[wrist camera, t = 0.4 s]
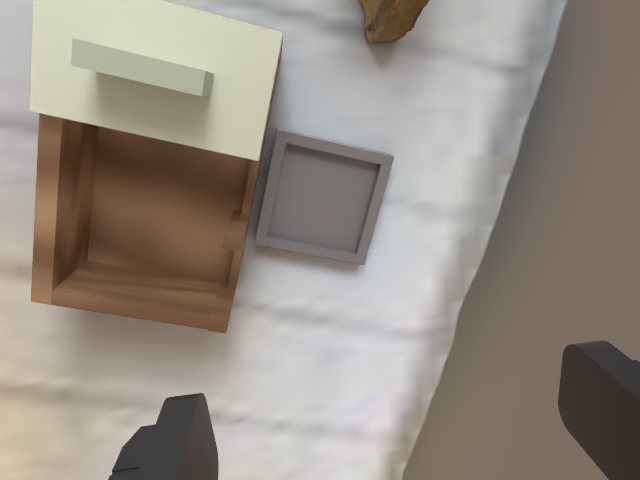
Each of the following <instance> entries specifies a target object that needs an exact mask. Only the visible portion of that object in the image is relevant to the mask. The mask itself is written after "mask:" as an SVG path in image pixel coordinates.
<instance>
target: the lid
mask: <svg viewBox="0 0 640 480" xmlns="http://www.w3.org/2000/svg"><path fill="white" fill-rule="evenodd" d="M282 37H283V32H280V31H276V30H273V29H269V28H265V27H261V26H258V25H254V24H250V23H246V22H243V21H239V20H235V19H231V18H228V17H224V16H220V15H216V14H213V13H209V12H205V11H201V10H198V9H194V8H190V7H187V6H183V5H179V4H175V3H172V2H168V1H164V0H34V2H33V27H32V52H31V77H30V103H29V111H33V112H37V113H42V114H46V115H51V116H55V117H60V118H65V119H69V120H74V121H78V122H83V123H87V124H92V125H96V126H101V127H106V128H110V129H115V130H119V131H124V132H128V133H133V134H137V135H142V136H147V137H151V138H156V139H160V140H165V141H169V142H174V143H179V144H183V145H188V146H192V147H197V148H201V149H206V150H210V151H215V152H220V153H224V154H229V155H233V156H238V157H242V158H247V159H251V160H256V161H259V157H260V152H261V147H262V141H263V136H264V131H265V126H266V121H267V115H268V110H269V105H270V100H271V94H272V89H273V84H274V79H275V73H276V68H277V63H278V58H279V53H280V47H281V42H282Z"/></svg>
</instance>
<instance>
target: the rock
mask: <svg viewBox="0 0 640 480" xmlns="http://www.w3.org/2000/svg"><path fill="white" fill-rule="evenodd" d="M428 1H429V0H360V2H361V4H362V6H363V8H364V11H365V33H366V36H367V38H368V41H369V42H370V43H375V42H390V41H395V40H398V39H400V38H401V37H403V36H404V35H405V34H406V32H408V31H410V30H411V29H412V28H413V27H414V24H415V22H416V20H417V18H418V16H419V15H420V13H421V11H422V9H423V8H424V7H425V6H426V5H427V3H428Z"/></svg>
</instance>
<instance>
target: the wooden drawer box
mask: <svg viewBox="0 0 640 480" xmlns="http://www.w3.org/2000/svg"><path fill="white" fill-rule="evenodd" d="M282 43H283V37H282V42H281V47H280V53H279V58H278V63H277V68H276V73H275V79H274V84H273V89H272V94H271V100H270V105H269V110H268V115H267V121H266V126H265V131H264V136H263V141H262V147H261V152H260V157H259V161H256V160H251V159H247V158H242V157H238V156H233V155H229V154H224V153H220V152H215V151H210V150H206V149H201V148H197V147H192V146H188V145H183V144H179V143H174V142H169V141H165V140H160V139H156V138H151V137H147V136H142V135H137V134H133V133H128V132H124V131H119V130H115V129H110V128H106V127H101V126H96V125H92V124H87V123H83V122H78V121H74V120H69V119H65V118H60V117H55V116H51V115H46V114H42V113H40V115H39V137H38V159H37V180H36V202H35V223H34V245H33V267H32V288H31V302H37V303H44V304H50V305H56V306H63V307H69V308H75V309H82V310H88V311H95V312H101V313H107V314H114V315H120V316H126V317H133V318H139V319H146V320H152V321H158V322H165V323H171V324H177V325H184V326H190V327H197V328H203V329H208V331H214V332H220V333H226V331H227V326H228V322H229V317H230V313H231V308H232V303H233V299H234V294H235V290H236V285H237V280H238V275H239V269H240V264H241V259H242V254H243V249H244V243H245V238H246V233H247V228H248V222H249V217H250V212H251V207H252V202H253V196H254V191H255V186H256V181H257V176H258V170H259V165H260V160H261V155H262V150H263V144H264V139H265V134H266V129H267V124H268V118H269V113H270V108H271V103H272V98H273V92H274V87H275V82H276V77H277V72H278V66H279V61H280V56H281V51H282Z"/></svg>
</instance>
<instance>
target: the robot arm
mask: <svg viewBox="0 0 640 480" xmlns="http://www.w3.org/2000/svg"><path fill="white" fill-rule="evenodd" d="M558 407H559V412H560V415H561V418H562V421H563V423H564V425H565V426H566V428H567V430H568V431H569V432H570V434H571V435H572V436H573V437H574V438H575V440H576V441H577V442H578V443H579V444H580V446H581V447H582V448H583V449H584V450H585V452H586V453H587V454H588V455H589V456H590V457H591V459H592V460H593V461H594V462H595V463H596V465H597V466H598V467H599V468H600V469H601V471H602V472H603V473H604V474H605V475H606V477H607V478H608V479H609V480H640V362H638V361H636V360H631V359H630V358H629V357H627V356H626V355H625V354H623V353H622V352H621V351H620V350H618V349H617V348H616V347H614V346H613V345H612V344H610V343H609V342H607V341H603V340H601V341H593V342H586V343H578V344H571V345H568V346H567V347H566V348H565V349H564V352H563V359H562V369H561V378H560V388H559V397H558ZM108 480H218V452H217V446H216V442H215V438H214V433H213V429H212V424H211V420H210V415H209V411H208V406H207V402H206V398H205V396H204V394H203V393H198V394H191V395H183V396H176V397H169V398H166V400H165V401H164V404H163V406H162V409H161V412H160V414H159V417H158V420H157V422H156V425H150V426H142V427H140V429H139V430H138V431H137V432H136V433H135V434H134V435H133V436H132V437H131V439H130V440H129V441H128V442H127V443H126V444H125V445H124V446H123V447H122V450H121V452H120V454H119V456H118V459H117V461H116V463H115V465H114V468H113V470H112V475H110V477H109V479H108Z"/></svg>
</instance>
